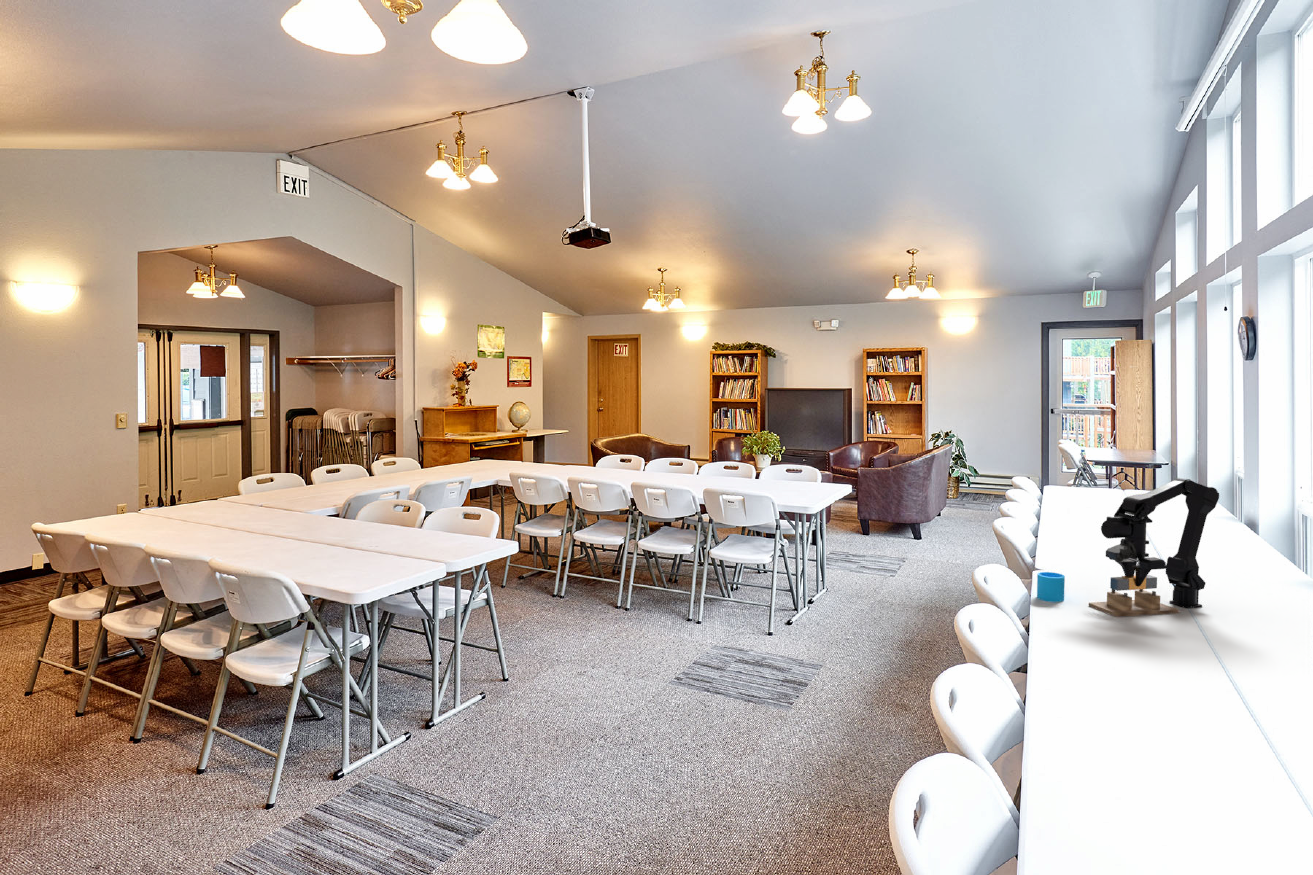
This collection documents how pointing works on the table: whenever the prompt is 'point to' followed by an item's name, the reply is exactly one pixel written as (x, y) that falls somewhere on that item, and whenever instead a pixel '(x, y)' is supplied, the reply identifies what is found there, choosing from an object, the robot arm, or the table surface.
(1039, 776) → the table surface
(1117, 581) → the spanner bar
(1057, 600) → the mug
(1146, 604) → the tool rack
